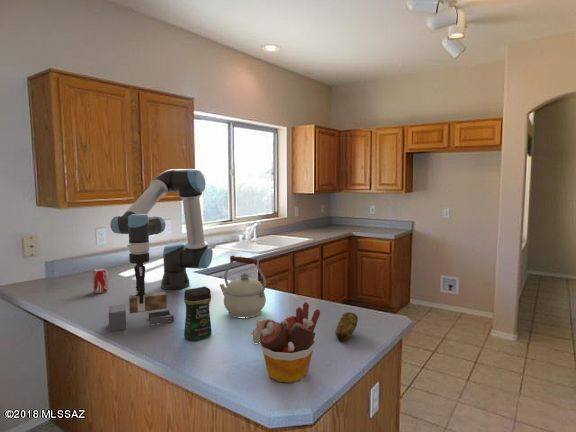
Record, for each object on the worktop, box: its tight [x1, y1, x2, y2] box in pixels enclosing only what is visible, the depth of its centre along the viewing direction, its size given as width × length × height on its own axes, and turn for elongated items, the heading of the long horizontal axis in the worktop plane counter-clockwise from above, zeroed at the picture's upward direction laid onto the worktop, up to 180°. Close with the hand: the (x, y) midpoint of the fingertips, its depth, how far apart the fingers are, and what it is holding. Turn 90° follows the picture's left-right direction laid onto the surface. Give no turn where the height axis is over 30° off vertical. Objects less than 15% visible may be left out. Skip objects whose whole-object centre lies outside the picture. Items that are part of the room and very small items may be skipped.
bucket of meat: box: [255, 301, 321, 384], centre depth 112 cm, size 20×16×20 cm
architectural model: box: [250, 326, 260, 344], centre depth 136 cm, size 3×7×7 cm, turn 142°
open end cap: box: [147, 308, 175, 325], centre depth 157 cm, size 9×9×2 cm
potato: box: [335, 312, 359, 342], centre depth 140 cm, size 8×13×8 cm, turn 135°
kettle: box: [219, 255, 267, 319], centre depth 165 cm, size 25×18×25 cm
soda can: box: [92, 267, 109, 294], centre depth 196 cm, size 7×7×12 cm
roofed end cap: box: [108, 303, 127, 332], centre depth 150 cm, size 6×9×7 cm
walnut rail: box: [128, 291, 168, 314], centre depth 154 cm, size 14×4×6 cm, turn 117°
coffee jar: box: [183, 285, 213, 342], centre depth 139 cm, size 10×8×19 cm
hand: (140, 308), depth 153 cm, fingers closed on walnut rail, 4 cm apart
